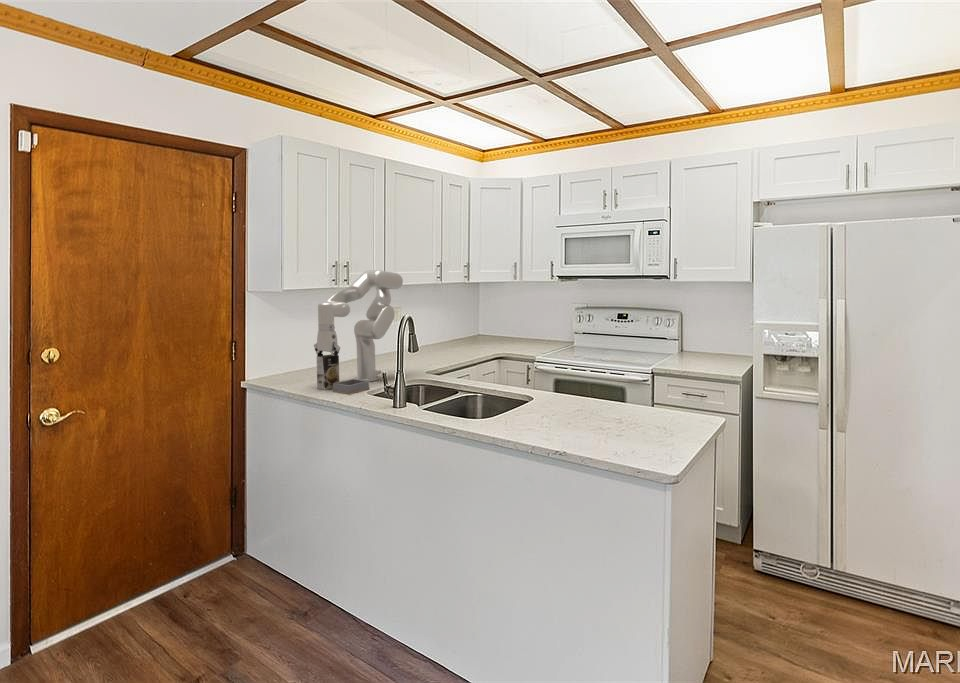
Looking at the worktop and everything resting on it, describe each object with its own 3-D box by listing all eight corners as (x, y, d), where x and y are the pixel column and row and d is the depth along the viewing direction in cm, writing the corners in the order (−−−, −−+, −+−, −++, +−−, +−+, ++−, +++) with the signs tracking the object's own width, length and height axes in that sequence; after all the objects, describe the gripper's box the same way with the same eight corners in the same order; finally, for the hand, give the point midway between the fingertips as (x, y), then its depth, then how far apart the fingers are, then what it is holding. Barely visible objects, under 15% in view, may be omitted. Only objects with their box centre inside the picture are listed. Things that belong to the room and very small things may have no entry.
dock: (353, 386, 282) (353, 378, 281) (369, 389, 276) (369, 381, 275) (332, 391, 270) (332, 383, 270) (349, 394, 265) (349, 386, 264)
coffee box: (325, 390, 274) (324, 357, 272) (316, 388, 278) (315, 356, 276) (340, 387, 281) (339, 354, 279) (332, 385, 285) (330, 353, 283)
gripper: (344, 328, 274) (345, 363, 276) (320, 326, 283) (320, 360, 285) (333, 329, 268) (333, 365, 270) (308, 327, 277) (309, 362, 279)
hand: (327, 362), depth 278 cm, fingers open, 9 cm apart
